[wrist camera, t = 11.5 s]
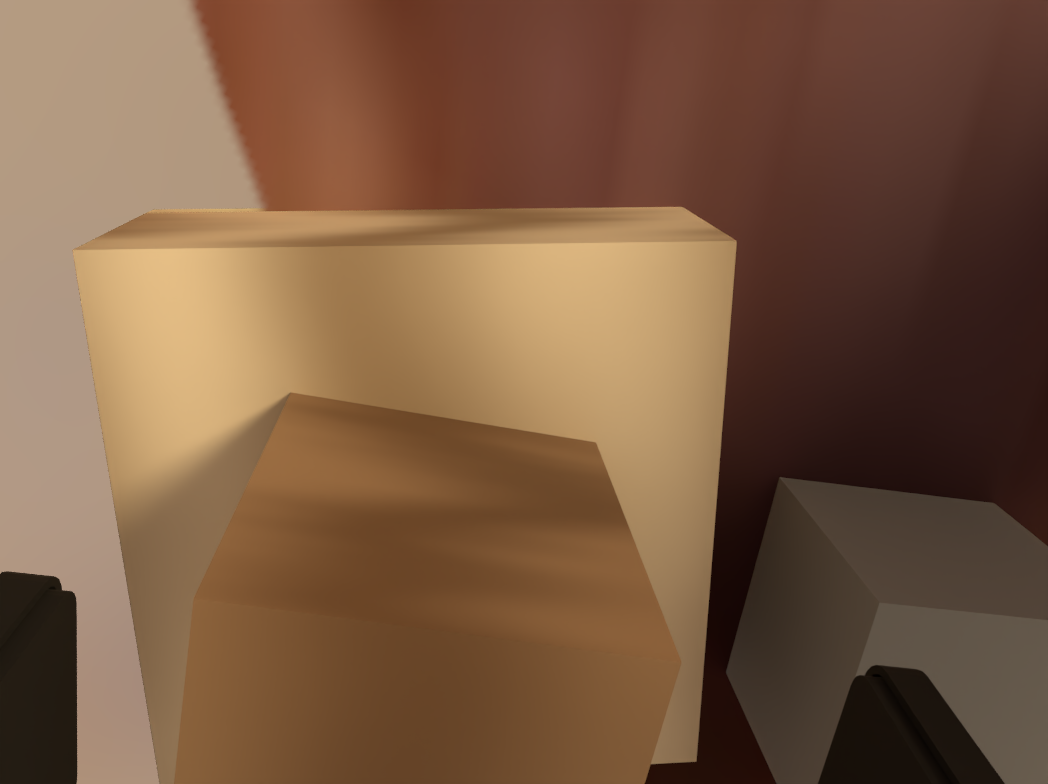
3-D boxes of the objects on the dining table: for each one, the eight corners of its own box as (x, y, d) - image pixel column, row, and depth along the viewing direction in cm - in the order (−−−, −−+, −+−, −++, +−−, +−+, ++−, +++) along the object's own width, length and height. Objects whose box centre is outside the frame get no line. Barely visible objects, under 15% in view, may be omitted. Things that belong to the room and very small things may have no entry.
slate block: (992, 501, 21) (1153, 630, 16) (924, 688, 22) (1052, 857, 18) (778, 475, 20) (880, 602, 15) (724, 670, 22) (801, 839, 17)
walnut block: (595, 442, 15) (681, 662, 10) (534, 691, 17) (577, 1005, 11) (290, 392, 15) (192, 598, 9) (255, 657, 16) (153, 972, 11)
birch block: (677, 204, 18) (736, 240, 14) (653, 639, 22) (696, 761, 18) (153, 209, 17) (72, 249, 14) (212, 659, 21) (160, 790, 17)
